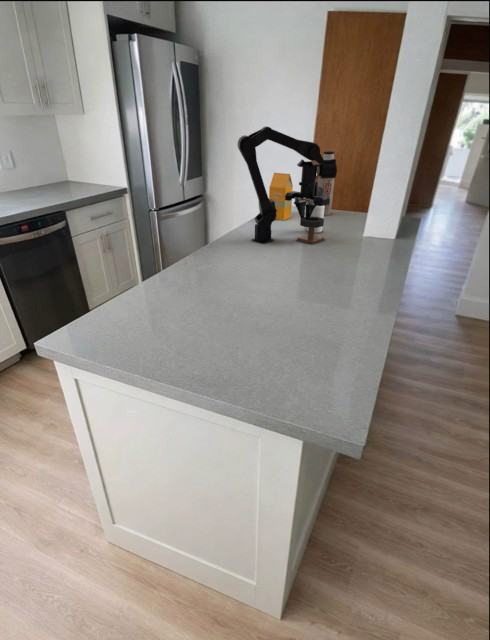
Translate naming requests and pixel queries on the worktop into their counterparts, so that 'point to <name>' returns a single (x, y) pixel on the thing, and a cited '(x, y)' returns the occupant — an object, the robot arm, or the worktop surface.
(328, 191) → the thermos bottle
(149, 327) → the worktop surface
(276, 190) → the orange juice
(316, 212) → the can
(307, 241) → the copper peg on plate
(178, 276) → the worktop surface
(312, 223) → the rubber ring
